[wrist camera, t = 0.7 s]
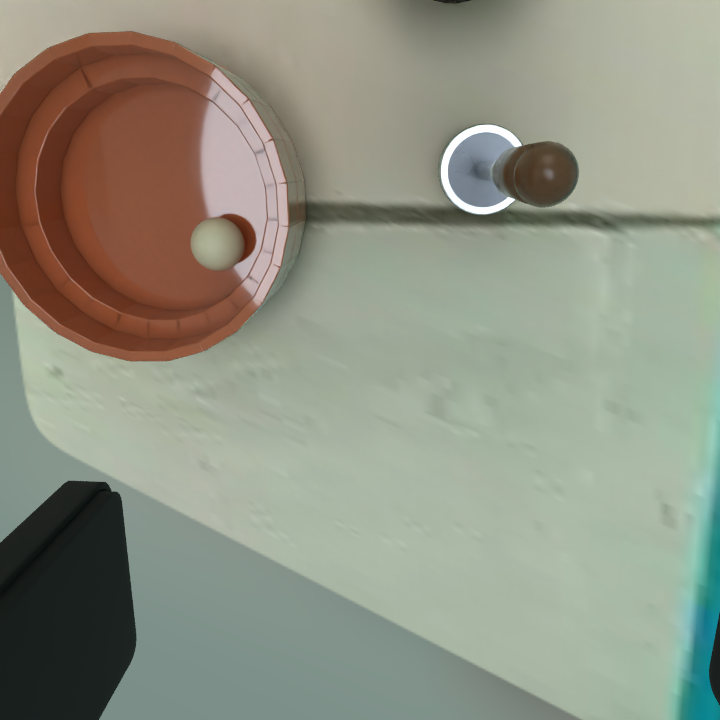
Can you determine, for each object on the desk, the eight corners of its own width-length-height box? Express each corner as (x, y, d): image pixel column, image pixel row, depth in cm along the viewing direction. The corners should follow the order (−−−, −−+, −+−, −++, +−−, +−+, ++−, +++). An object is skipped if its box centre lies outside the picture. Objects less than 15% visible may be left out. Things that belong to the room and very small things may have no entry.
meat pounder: (450, 117, 37) (494, 64, 17) (531, 138, 37) (666, 107, 17) (428, 200, 38) (446, 237, 19) (506, 220, 38) (605, 278, 19)
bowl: (52, 20, 37) (-14, -6, 31) (334, 92, 37) (320, 78, 31) (26, 298, 42) (-35, 319, 36) (276, 362, 42) (254, 393, 36)
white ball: (204, 209, 39) (187, 213, 36) (254, 222, 39) (241, 227, 36) (196, 259, 40) (179, 267, 37) (245, 272, 39) (231, 280, 37)
